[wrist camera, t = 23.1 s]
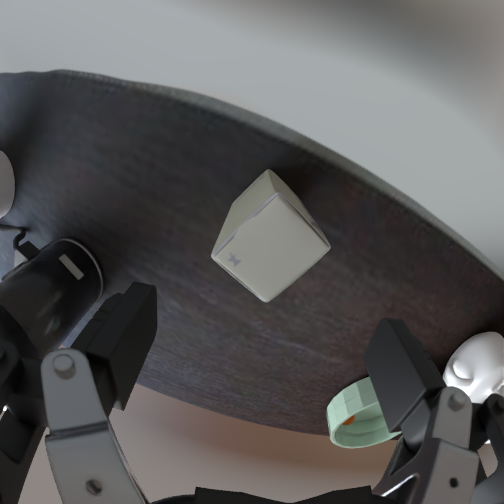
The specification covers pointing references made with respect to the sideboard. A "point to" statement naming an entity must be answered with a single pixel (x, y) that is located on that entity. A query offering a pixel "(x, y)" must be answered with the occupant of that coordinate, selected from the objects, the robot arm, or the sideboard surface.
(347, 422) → the ball
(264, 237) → the box
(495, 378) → the teapot
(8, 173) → the mug
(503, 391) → the geometric shape
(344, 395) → the bowl
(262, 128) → the sideboard surface
